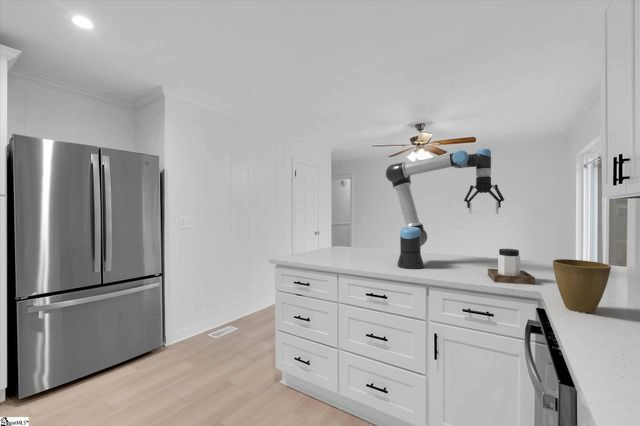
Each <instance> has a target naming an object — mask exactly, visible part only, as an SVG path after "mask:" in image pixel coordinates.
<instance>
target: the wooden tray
mask: <svg viewBox="0 0 640 426" xmlns="http://www.w3.org/2000/svg"><path fill="white" fill-rule="evenodd" d="M487 276H488V277H489V278H490V279H491V280H492V281H493V282H494V283H502V284H503V283H504V284H516V285H517V284H519V285H531V286H532V285H534V286H535V285H536V277H535V276H533V275H532V274H530V273H528V272H527V271H526V270H521V269H520V275H518V276H507V275H502V274H499V273H498V268H487Z"/></svg>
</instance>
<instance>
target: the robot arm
mask: <svg viewBox="0 0 640 426" xmlns="http://www.w3.org/2000/svg"><path fill="white" fill-rule="evenodd" d="M447 168H453V169H463V168H464V169H465V168H475V177H476V178H475V180H476V181H475V185H470V186H469V189H468V191H467V194H466V195H465V197H464V199H463V202H465V203H466V205H467V206H466V207H467V209H468V210H469V211H468V212H469V213H468V214H469V215H471V214H472V202H471V201H472V200H473V199H474V198H475V197H476V196H477V195H478V194H483V193H484V194H486V193H488V194H489V195H490V196H492V198H493V199H494V200H495V201H496V202H495V215H499V209H500V208H501V203H502V202H504V201H505V198H504V197H503V194H502V193H501V191H500V190H499V187H498V184H493V185H492V177H491V176H492V152H491V149H489V148H481V149H477V150H475V153H468V152H466V151H465V150H462V149H460V150H457V151H455V152H451V153H447V154H442V155H439V156H438V155H437V156H434V157H429V158H425V159H421V160H416V161H411V162H407V163H406V162H405V161H403V162H398V163H393V164H390V165H389V166H388V167H387V168H386V171H385V178H386V179H387V180H388V181H389V182H391V183H392V184H391V185H392V188H393V189H394V190H396V192H397V193H396V194H397V196H398V201H399V204H400V208H401V211H402V216H403V219H404V223H405V226H404V227H402V228H401V229H400V232H399V237H400V238H399V239H400V240H399V241H400V243H399V245H400V249H399V250H400V252H399V254H400V255H399V257H398V261H397V267H398V268H401V269H411V270H412V269H413V270H417V269H423V268H425V265H424V264H425V263H424V260H423V257H422V254H421V250H422V249H421V248H422V246H423V245H425V243H426V242H427V240H428V234H427V231H426V230H425V228H424V225H423V223H422V222H420V221H419V216H418V212H417V209H416V205H415V202H414V198H413V194H412V191H411V187H410V186H411V185H412V181H411V176H414V175H418V174H424V173H428V172H434V171H438V170H444V169H447ZM474 189H475V190H476V191H475V192H474V193H473V194H472V195H471V193H472V191H473V190H474ZM491 189H494V191H495V192H496V194H497V195H496V194H495V193H494V192H493V191H492V190H491ZM470 195H471V196H470Z"/></svg>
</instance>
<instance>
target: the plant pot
mask: <svg viewBox="0 0 640 426" xmlns="http://www.w3.org/2000/svg"><path fill="white" fill-rule="evenodd" d="M552 268H553V274H554V278H555V281H556V285H557V288H558V291H559V295H560V297H561V300H562V302H563V305H564V307H565V308H566V309H567V308H568V310H569V309H570V311H572V310H574V311H573V312H576V311H581V312H593V313H595V312H596V310H597V308H598V306H599V305H600V303H601V300H602V298H603V295H604V293H605V291H606V288H607V284H608V282H609V278H610V275H611V268H612V266H611V265H610V264H608V263H603V262H598V261H593V260H591V261H590V260H582V259H569V258H564V259H563V258H560V259H559V258H556V259H553V260H552ZM581 312H580V313H581Z"/></svg>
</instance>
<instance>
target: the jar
mask: <svg viewBox="0 0 640 426" xmlns="http://www.w3.org/2000/svg"><path fill="white" fill-rule="evenodd" d="M519 250H520V249H514V248H499V250H498V254H497V255H498V256H497V260H498V261H497V265H498V266H497V269H498V273H499V274H502V275H507V276H518V275H520V270H521V256H520V251H519Z"/></svg>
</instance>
